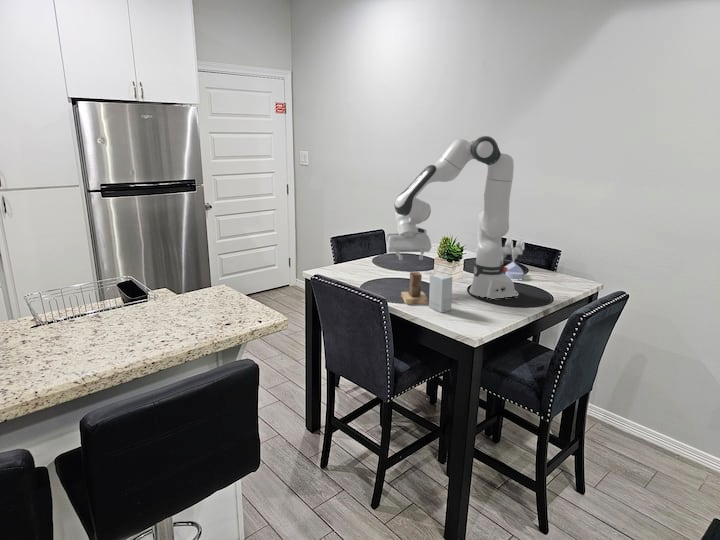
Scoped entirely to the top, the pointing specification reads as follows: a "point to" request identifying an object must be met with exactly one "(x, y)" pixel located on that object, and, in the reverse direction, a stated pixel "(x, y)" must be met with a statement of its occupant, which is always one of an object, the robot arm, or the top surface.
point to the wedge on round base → (514, 271)
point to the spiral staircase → (511, 249)
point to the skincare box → (440, 292)
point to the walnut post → (415, 284)
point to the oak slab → (415, 298)
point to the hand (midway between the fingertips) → (411, 259)
